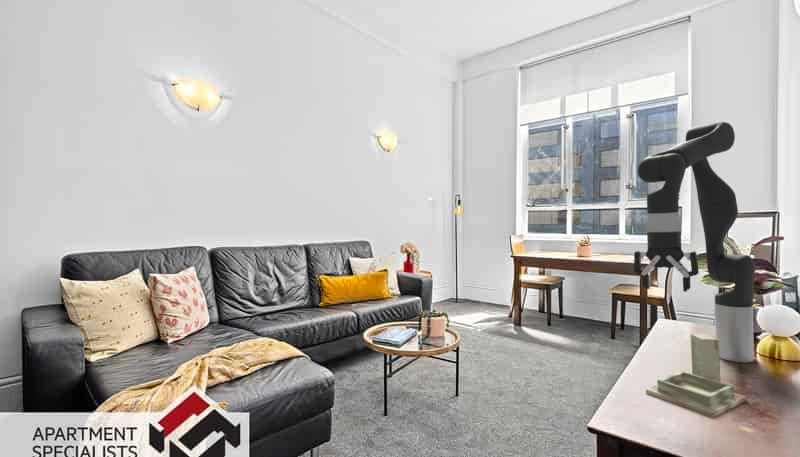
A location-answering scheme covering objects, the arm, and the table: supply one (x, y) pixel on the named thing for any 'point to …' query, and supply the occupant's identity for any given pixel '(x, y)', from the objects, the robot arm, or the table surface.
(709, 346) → the skincare box
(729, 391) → the socket stand
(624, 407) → the table surface
